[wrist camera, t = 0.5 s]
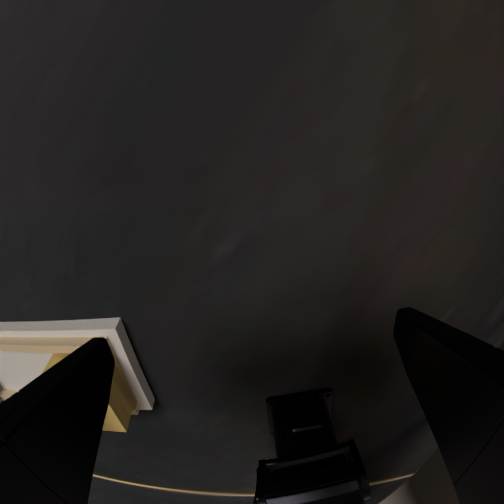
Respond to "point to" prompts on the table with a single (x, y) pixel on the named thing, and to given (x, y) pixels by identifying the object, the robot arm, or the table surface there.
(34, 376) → the track
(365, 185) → the table surface
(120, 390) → the block
